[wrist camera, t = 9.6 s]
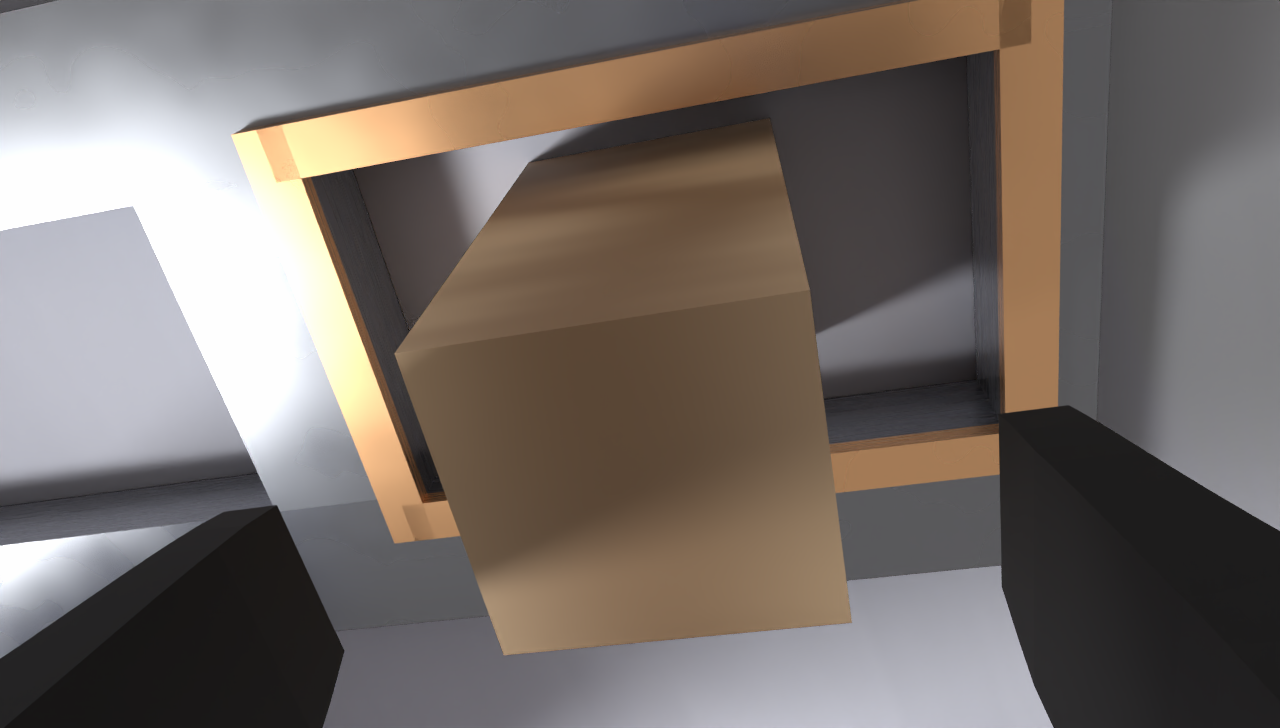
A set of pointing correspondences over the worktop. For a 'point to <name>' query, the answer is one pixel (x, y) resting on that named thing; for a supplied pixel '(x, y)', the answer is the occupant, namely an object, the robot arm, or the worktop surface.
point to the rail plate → (477, 115)
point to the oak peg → (635, 400)
